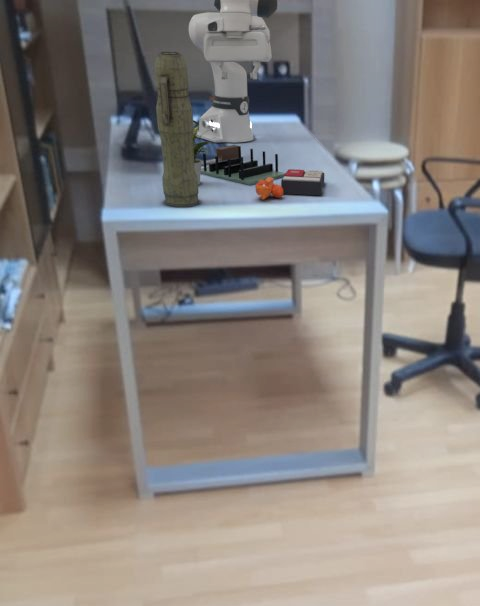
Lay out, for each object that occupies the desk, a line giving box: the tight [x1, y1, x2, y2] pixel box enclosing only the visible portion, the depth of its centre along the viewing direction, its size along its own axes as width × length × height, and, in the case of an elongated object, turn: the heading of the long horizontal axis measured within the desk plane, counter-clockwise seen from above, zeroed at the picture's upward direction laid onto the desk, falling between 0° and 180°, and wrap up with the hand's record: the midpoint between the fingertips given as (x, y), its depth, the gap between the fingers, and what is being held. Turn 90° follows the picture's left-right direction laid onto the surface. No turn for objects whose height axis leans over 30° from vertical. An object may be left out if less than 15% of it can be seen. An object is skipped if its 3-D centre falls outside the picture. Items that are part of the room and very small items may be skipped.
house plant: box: [192, 126, 214, 186], centre depth 215 cm, size 14×14×16 cm
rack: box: [200, 145, 286, 186], centre depth 231 cm, size 22×16×6 cm
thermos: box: [154, 51, 200, 208], centre depth 194 cm, size 9×12×35 cm
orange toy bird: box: [254, 177, 284, 201], centre depth 210 cm, size 5×8×12 cm
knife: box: [201, 144, 239, 167], centre depth 245 cm, size 17×2×4 cm, turn 144°
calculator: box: [280, 168, 325, 196], centre depth 220 cm, size 11×4×15 cm
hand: (239, 79), depth 228 cm, fingers open, 8 cm apart
